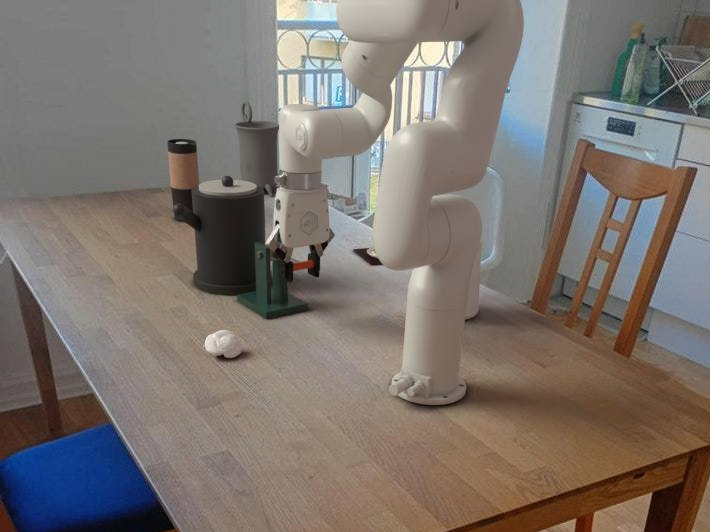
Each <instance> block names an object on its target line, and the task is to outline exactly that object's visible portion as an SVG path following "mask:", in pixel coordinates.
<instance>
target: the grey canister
mask: <svg viewBox="0 0 710 532" xmlns="http://www.w3.org/2000/svg"><path fill="white" fill-rule="evenodd" d="M246 106H247V109H248V115H247V114H246V113H245V108H246ZM240 112H241V118H242V121H239V122H236V123H234V127H235V129H236V132H237V135H238V147H239V168H240V169H239V170H240V179H239V180H241V181H247V182H251V183H254V184H255V185H257V186H259V187H261V188H263V189H265V190H266V192H267V193H268V196H270V197H274V196H273V187H276V186H278V184H276V183H275V181H274V177H275V176H278V175H279V170H278V135H279V123H277V122H273V121H266V120H252V119H253V110H252V106H251V104H250V102H249V101H246V100H245V101H243V102H242V104H241V108H240Z"/></svg>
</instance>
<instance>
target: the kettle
mask: <svg viewBox="0 0 710 532" xmlns="http://www.w3.org/2000/svg"><path fill="white" fill-rule="evenodd" d="M264 189H265V188H261V187H259V186H257V185H255V184H254V183H251V182H247V181H241V180H240V179H234V178H232V177H231V176H230V175H224V176H223V177H222V179H214V180H207V181H203V182H201V183H199V185H198V186H195V187H193V188H192V202H193V212H192V211H191V210H189V209H188V208H187V207H185V206H184V205H182V204H176V205H175V206H174V207H173V206H172V212H173V215H174V214H175V215H176V216H177V217H179V218H180V219H181V220H183V221H184V223H185V224H186V225H188V226H189V227H191V228H192V229H193V230H194V241H195V242H194V243H195V253H196V254H195V255H196V267H197V269H196V270H195V271H193V274H192V277H193V284H194V287H195V288H196V289H199V290H200V291H202V292H205V293H209V294H214V295H221V296H237V295H238V294H243V293H248V292H253V291H256V268H255V243H257V242H259V243H261V244H263V245H265V242H266V210H265V209H266V208H265V190H264Z"/></svg>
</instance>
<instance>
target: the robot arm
mask: <svg viewBox="0 0 710 532" xmlns="http://www.w3.org/2000/svg"><path fill="white" fill-rule="evenodd" d="M335 12H336V19H337V20H336V21H337V25H338V27H339V30H340V31H341V33H342V34H343V35H344V36H345V38H346V39H348V40H349V42H348V43H347V45H346V47H345V49H344V50H343V52H342V55H341V60H340V61H341V68H342V71H343V73H344V76H345V77H346V78H347V80H348V82H349V83H350V84H351V85H352V86H353V87H354V88H356V89H357V90H358V91H359V92H361V93H362V94H361V95H360V97H359V98H358V100H357V101H356V102H355V104H353V106H352V107H347V108H346V107H345V108H334V109H333V108H331V109H322V110H321V109H320V108H319V107H318V106H316V105H313V104H306V103H289V104H285V105H283V106H282V107H281V108H280V109H279V113H278V124H279V130H278V143H279V146H278V147H279V151H278V153H279V170H278V176H275V177H274V181H275V183H276V184H277V185H279V187H277V188H276V193H275V197H274V205H273V216H272V217H273V218H272V219H273V220H272V231H271V233H270V234H269V236H268V237H267V238H266V240H265V246H266V247H267V248H269V249H270V250H271V251H272V252H273V253H274V254H275V255H276V256H277V257H278V258H279V259H280V263H281V276H282V279H283V280H285V281H287V282H288V284H292V283H293V282H294V271H293V262H291V261H290V260H291V258H292V257H293V252H294V249H296V248H302V247H307V246H308V248H309V253H307V261H309V260H313V262H314V267H313V268H308V269H307V274H308V275H310V276H311V277H314V278H316V279H318V278H320V271H321V257H323V256H324V251H325V250H326V249H327V247H328V246H329V244H330V243H331V242H332V240H333V239H334V238H335V236H336V235H335V232H334V231H333V229H332V228H331V226H330V210H329V202H328V201H329V200H328V196H327V189H326V187H325V186H323V185H322V170H323V169H322V163H323V162H322V161H323V160H328V159H335V158H343V157H353V156H359V155H361V154H364V153H365V152H367V151H368V150H369V149H370V148H372V146H373V145H374V144H375V143H376V142H377V140H378V139H379V138H380V136H381V135H382V133H383V132H384V130H385V129H386V127H387V125H388V123H389V122H390V119H391V116H392V115H391V114H392V108H393V91H392V87H391V85H392V83H393V82H394V80H395V79H396V77H397V76H398V74H399V73H400V71H401V69H402V68H403V67H404V64H405V63H406V62H407V61H408V59H409V57H410V56H411V54H412V53H413V52H414V50H415V49H416V47H417V45H418V44H419V43H447V42H448V43H451V42H461V43H462V45H463V48H462V50H461V51H460V53H459V54H458V56H457V57H456V59H455V60H454V61H453V63H452V65H451V67H450V68H449V70H448V72H447V74H446V77H445V79H444V82H443V85H442V89H441V95H440V96H441V97H440V101H439V104H438V110H437V113H436V115H435V118H434V119H433V120H430V121H429V120H428V121H419V122H413V123H409V124H407V125H405V126H403V127H401V128H400V129H399V130H397V131H396V132H395V134H393V135H392V137H391V139H390V140H389V142H388V144H387V146H386V150H385V151H384V155H383V159H382V164H381V170H380V176H379V178H380V179H379V183H378V189H377V195H376V202H375V209H374V210H375V211H374V216H373V222H372V245H373V247H374V249H375V252H376V255H377V257H378V259H379V260H380V262H381V263H382V264H381V265H383V266H384V267H386V268H387V269H390V270H392V271H396V272H397V271H398V272H399V271H400V272H401V271H403V272H404V271H409V270H412V272H411V274H410V277H409V281H408V285H407V294H406V306H405V307H406V308H405V322H404V323H405V324H404V335H403V347H402V349H403V350H402V362H401V363H402V364H401V369H400V371H399V372H398V373H396V374H394V376H392V378H391V384H390V385H389V386H388V393H389V394H390V396H393V397H397V396H398V397H399V398H401V399H403V400H405V401H408V402H411V403H414V404H417V405H424V406H425V405H426V406H443V405H449V404H453V403H455V402H458V401H460V400H461V399H463V398H464V396H465V395H466V392H467V384H466V381H464V379H463V378H462V377H460V375H459V374H460V373H459V372H460V365H461V364H460V363H461V356H462V355H461V354H462V348H463V338H464V330H465V322H466V320H465V314H466V305H467V298H468V290H469V283H470V277H471V272H472V267H473V264H474V260H475V257H476V254H477V251H478V247H479V244H480V240H481V239H482V234H483V220H482V215H481V213H480V210H479V209H478V207H477V206H476V204H475V203H474V202H473V201H472V200H471V199H469V198H468V197H465V196H463V195H460V194H451V193H454V192H455V193H456V192H460V191H465V190H468V189H472V188H473V187H475V186H477V185H479V184H480V183H481V182H482V181H483V179H484V178H485V175H486V174H487V170H488V167H489V165H490V164H489V163H490V160H491V157H492V152H493V147H494V144H495V140H496V136H497V133H498V132H497V131H498V127H499V123H500V119H501V115H502V112H503V105H504V101H505V97H506V93H507V89H508V88H509V87H508V86H509V83H510V80H511V77H512V74H513V71H514V69H515V66H516V63H517V60H518V57H519V55H520V54H519V53H520V50H521V47H522V43H523V37H524V27H525V26H524V25H525V21H524V20H525V18H524V10H523V6H522V1H521V0H337V1H336V11H335ZM276 242H279V243H281V244H280V248H279V247H278V246H277V245H276Z"/></svg>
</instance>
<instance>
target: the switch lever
mask: <svg viewBox="0 0 710 532" xmlns="http://www.w3.org/2000/svg"><path fill="white" fill-rule="evenodd" d="M274 260H280V259H279V258H278V257H277V256H276V255H275V254H274V253H273V252H272V251H271V250H270V262H272V261H274ZM290 261H291V262H293V272H297V271H301V270H308V268H313V267H314V262H313V260H309V261H308V260H303V261H300V260H297V259H295V258H293V257H291V260H290Z"/></svg>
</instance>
